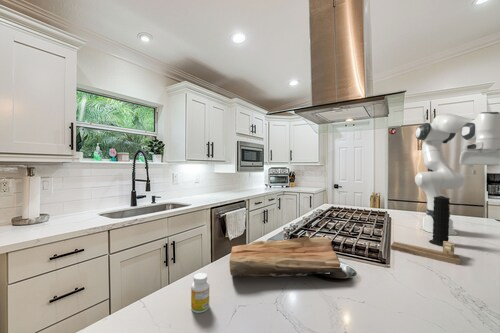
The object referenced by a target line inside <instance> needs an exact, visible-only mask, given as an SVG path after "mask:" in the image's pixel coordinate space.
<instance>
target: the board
mask: <svg viewBox="0 0 500 333" xmlns="http://www.w3.org/2000/svg"><path fill="white" fill-rule="evenodd" d="M390 250H393V251H397V252H402V253H406V254H410V255H414V256H419V257H423V258H429V259H432V260H436V261H440V262H445V263H448V264H454V265H458V266H460V261H461V260H460V254H455V253H454V254H452V253H448V256H447V252H443V250H442V251H441V250H437V249H432V248H428V247H422V246H418V245H412V244H410V243H409V244H408V243H404V242H399V241H393V242H392V244H390Z"/></svg>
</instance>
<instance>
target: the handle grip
mask: <svg viewBox="0 0 500 333" xmlns="http://www.w3.org/2000/svg"><path fill="white" fill-rule="evenodd" d="M447 197H448V196H446V197H444V196H437V197H434V204H433V205H434V207H433V209H434V210H433V211H434V212H433V222H434V223H433V233H432V239H429V241H428V243H430V244H432V245H434V246H438V247H443V241H447V242H449V237H450V235H448V234H449V231H448V230H449V225H448V224H449V211H450V205H451V203H450V202H449V200H450V201H451V199H450V197H448V198H447Z"/></svg>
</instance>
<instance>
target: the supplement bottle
mask: <svg viewBox="0 0 500 333" xmlns="http://www.w3.org/2000/svg"><path fill="white" fill-rule="evenodd" d="M190 291H191V292H190V294H191V295H190V298H191V299H190V304H191V305H190V307H191V311H192V312H193V313H197V314H199V313H201V314H202V313H204V312H207V311H208V310H209V308H210V282H209V281H208V274H207V273H204V272H199V273H196V274H194V276H193V282H192V284H191V286H190Z"/></svg>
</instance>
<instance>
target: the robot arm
mask: <svg viewBox="0 0 500 333" xmlns="http://www.w3.org/2000/svg"><path fill="white" fill-rule="evenodd" d="M457 133H460V136H461V137H462V138H463V139H464V140H465V141H475V142H473V143H472V142H471V143H470V144H469V143H468V144H465V145H463V147H462V148H463V151H462V152H461V153H460V156H459V164H460V165H463V166H468V168H469V169H470V171H471V175H476V174H477V173H476V172H477V170H474V169H473V168H474V166H500V112H499V111H484V112H480V113H478V114H477V115H476V117H475V118H474V119H473V118H470V117H465V116H460V115H456V114H452V113H441V114H438V115H436V116H435V117H434V118H433V120H432V122H431V123H428V122H425V123H424V124H421V125H419V126H418V127H416V129H415V137H416V140H419V141H423V142H422V145H421V154H422V159H423V164H424V166H425V167H426V168H427V169H429V170H430V171H422V172H421V171H420V172H418V173H416V175H415V177H414V182H415V184H416V186H417V187H418V188H420V189H422V191H423V192H424V193H425V196H426V207H427V208H426V211H425V212H426V215H425V216H423V218H422V219H423V220H422V226H419V230H422V231H425V232H427V233H431V234H433V223H434V222H433V212H434V211H433V210H434V209H433V207H434V205H433V204H434V197H437V196H444V197H447V198H449V197H448V196H447V195H445V194H442V193H441V192H440V189H441V190H455V189H456V190H457V189H460V188H462V187H463V186H464V185H465V182H466V180H465V177H464V176H463V174H462V173H460V172H458V171H456V170H454V169H453V168H452V167H451V166H450V165H449V164H448V162H447V161H446V158H445V155H444V152H443V149H442V144H447V143H448V142H450V141H451V140H453V139H454V138H455V136H456V134H457ZM450 201H451V199H450V200H449V202H450ZM448 225H449V230H448V231H449V234H448V235H449V236H451V235H452V236H457V235H458V232H456V231H455V229H454V221H453V220H452V219H451V211H450V210H449V224H448Z"/></svg>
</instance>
